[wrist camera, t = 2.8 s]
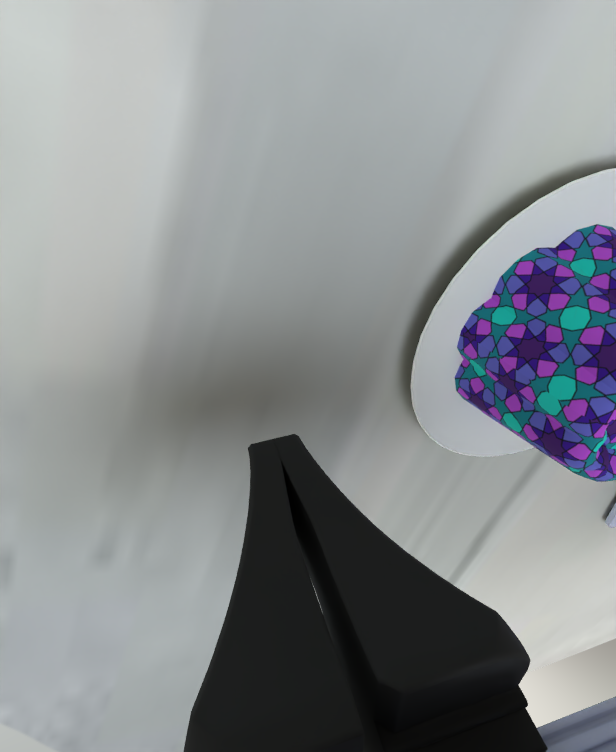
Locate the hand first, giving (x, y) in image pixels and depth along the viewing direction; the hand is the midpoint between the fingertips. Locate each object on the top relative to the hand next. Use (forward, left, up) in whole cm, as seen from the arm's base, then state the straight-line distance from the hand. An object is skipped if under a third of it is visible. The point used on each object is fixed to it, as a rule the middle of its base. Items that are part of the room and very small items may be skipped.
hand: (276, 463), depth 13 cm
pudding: (0, -11, -3) cm, 12 cm away
